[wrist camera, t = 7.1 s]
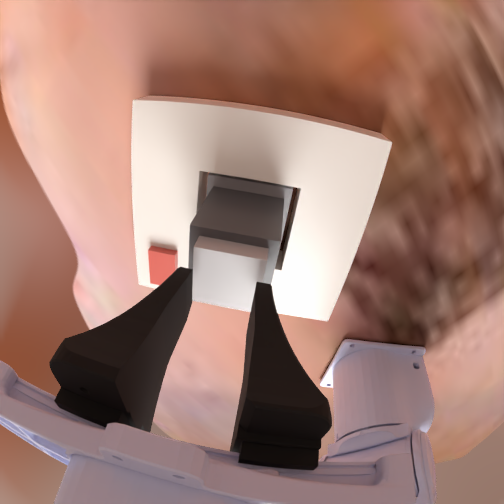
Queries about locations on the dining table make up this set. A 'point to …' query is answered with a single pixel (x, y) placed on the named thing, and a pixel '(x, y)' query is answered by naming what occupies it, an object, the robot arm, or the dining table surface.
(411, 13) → the dining table surface
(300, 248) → the socket plate
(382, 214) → the dining table surface
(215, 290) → the plug
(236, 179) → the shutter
